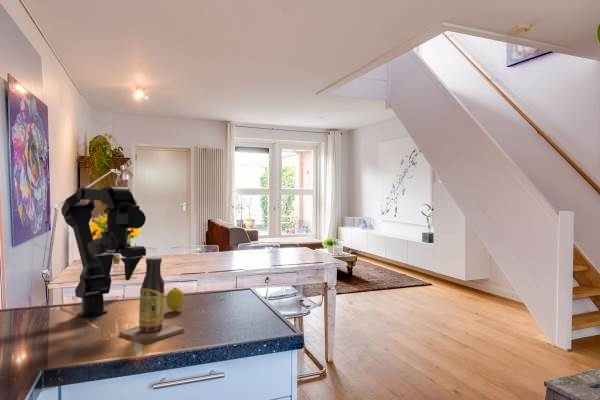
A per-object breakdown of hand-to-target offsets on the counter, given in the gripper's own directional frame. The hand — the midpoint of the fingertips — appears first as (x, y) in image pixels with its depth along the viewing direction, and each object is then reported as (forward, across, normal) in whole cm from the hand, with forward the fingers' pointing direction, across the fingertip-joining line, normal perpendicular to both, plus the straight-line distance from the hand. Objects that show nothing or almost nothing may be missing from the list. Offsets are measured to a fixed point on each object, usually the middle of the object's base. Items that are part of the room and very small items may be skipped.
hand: (116, 278), depth 114 cm
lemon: (+13, +8, +16) cm, 22 cm away
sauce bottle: (+12, +18, -3) cm, 22 cm away
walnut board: (+13, +18, -3) cm, 22 cm away
